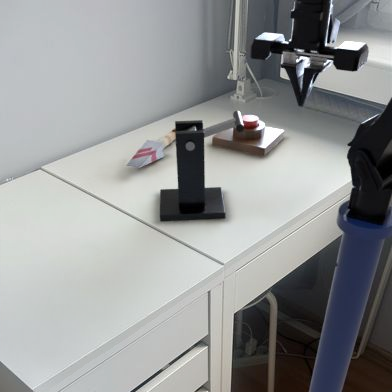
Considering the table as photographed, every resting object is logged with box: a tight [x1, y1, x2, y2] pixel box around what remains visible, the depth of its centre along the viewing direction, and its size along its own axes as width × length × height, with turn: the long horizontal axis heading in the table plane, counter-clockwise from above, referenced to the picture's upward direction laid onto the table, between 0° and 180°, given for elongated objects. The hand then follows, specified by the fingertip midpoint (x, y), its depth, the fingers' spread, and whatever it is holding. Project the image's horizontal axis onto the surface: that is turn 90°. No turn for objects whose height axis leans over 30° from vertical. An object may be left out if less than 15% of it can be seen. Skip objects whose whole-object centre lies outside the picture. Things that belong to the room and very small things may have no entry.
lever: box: [181, 110, 244, 139], centre depth 79 cm, size 10×6×2 cm, turn 92°
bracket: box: [159, 119, 226, 222], centre depth 83 cm, size 11×9×14 cm
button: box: [241, 114, 259, 129], centre depth 104 cm, size 4×4×2 cm
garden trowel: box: [125, 127, 176, 169], centre depth 103 cm, size 4×3×20 cm
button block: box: [211, 119, 285, 157], centre depth 106 cm, size 12×10×4 cm
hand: (301, 105), depth 89 cm, fingers closed
